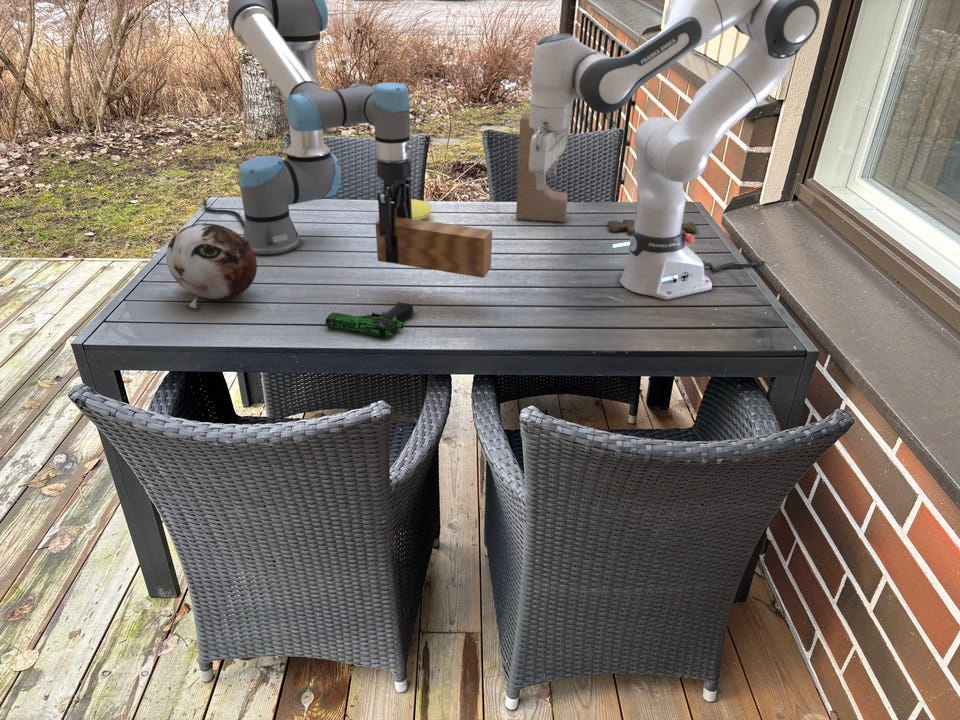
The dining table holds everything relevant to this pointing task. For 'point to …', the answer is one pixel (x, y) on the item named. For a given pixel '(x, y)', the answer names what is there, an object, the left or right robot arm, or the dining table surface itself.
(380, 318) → the handgun
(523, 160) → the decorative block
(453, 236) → the bar
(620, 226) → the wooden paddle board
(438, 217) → the dining table surface
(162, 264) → the dining table surface
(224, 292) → the cat face balloon
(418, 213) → the yellow pattypan squash
